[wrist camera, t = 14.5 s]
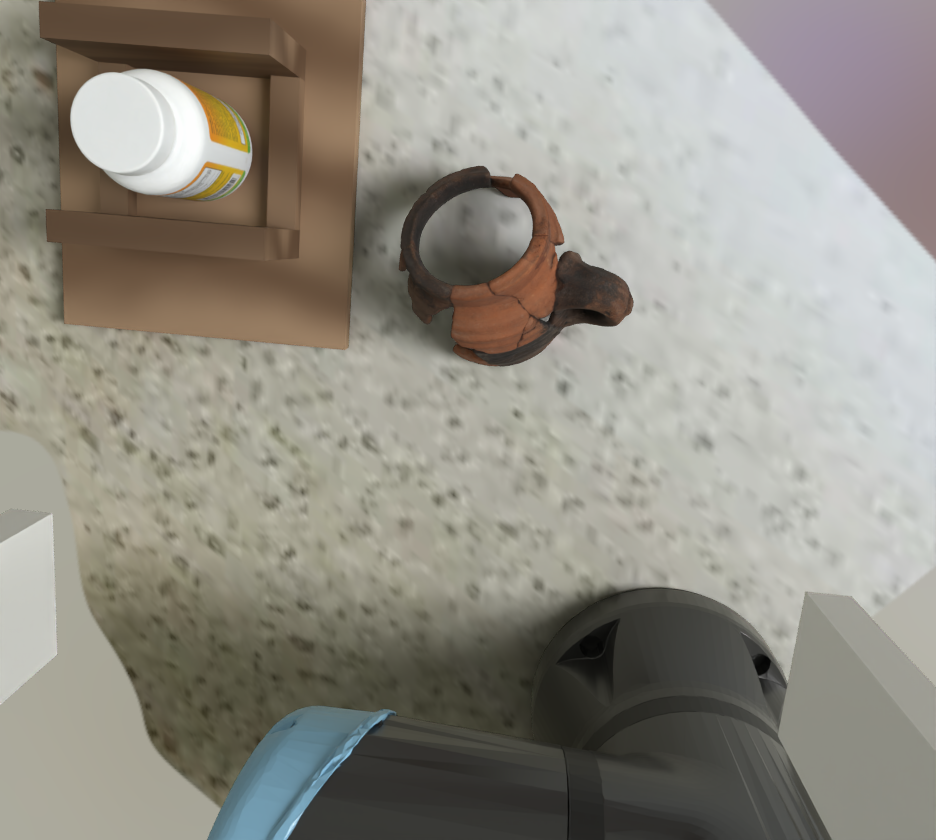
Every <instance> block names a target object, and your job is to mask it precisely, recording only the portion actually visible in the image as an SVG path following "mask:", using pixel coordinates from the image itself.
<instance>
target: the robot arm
mask: <svg viewBox="0 0 936 840" xmlns="http://www.w3.org/2000/svg"><path fill="white" fill-rule="evenodd" d="M53 542H54V540H53V513H46V512H36V511H28V510H18V509H9V510H7V511H5V512H3V513H2V514H0V705H1V704H2V703H3V702H4V701H5V700H7V699H8V698H9V697H10V696H11V695H12V694H13V693H14V692H16V691H17V690H18V689H19V688H20V687H21V686H22V685H23V684H25V683H26V682H27V681H28V680H29V679H30V678H31V677H32V676H34V675H35V674H36V673H37V672H38V671H39V670H40V669H41V668H43V667H44V666H45V665H46V664H47V663H48V662H49V661H50V660H52V659H53V658H54V657H55V656H56V655H57V629H56V628H57V627H56V599H55V571H54V570H55V569H54V543H53ZM531 701H532V729H533V736H534V740H529V739H524V738H518V737H512V736H507V735H501V734H495V733H490V732H484V731H479V730H473V729H467V728H462V727H456V726H451V725H445V724H439V723H434V722H428V721H422V720H417V719H411V718H406V717H400V716H397V713H396V712H395V711H392V710H389V709H381V710H379V711H377V712H368V711H360V710H352V709H343V708H335V707H327V706H309V707H304V708H301V709H298V710H296V711H294V712H292V713H290V714H288V715H286V716H285V717H284V718H283V719H281V720H280V721H279V722H278V723H276V724H275V725H274V726H273V727H272V729H271V730H270V731H269V732H268V733H267V734H266V736H265V737H264V738H263V740H261V742H260V743H259V744H258V745H257V747H256V748H255V749H254V751H253V753H252V754H251V756H250V757H249V759H248V760H247V762H246V764H245V765H244V767H243V768H242V770H241V772H240V773H239V775H238V777H237V779H236V781H235V782H234V784H233V786H232V788H231V790H230V792H229V794H228V796H227V798H226V800H225V802H224V804H223V806H222V808H221V810H220V812H219V814H218V816H217V818H216V821H215V823H214V826H213V828H212V830H211V832H210V834H209V837H208V839H207V840H936V687H935V685H934V684H933V683H932V682H931V681H930V680H929V679H928V678H927V677H926V676H925V675H924V674H923V673H922V672H921V670H920V669H919V668H918V667H917V666H916V665H915V664H914V663H913V662H912V661H911V660H910V659H909V658H908V657H907V655H906V654H905V653H904V652H903V651H902V650H901V649H900V648H899V647H898V646H897V645H896V644H895V643H894V642H893V640H891V638H890V637H889V636H888V635H887V634H886V633H885V632H884V631H883V630H882V629H881V628H880V627H879V626H878V624H876V622H875V621H874V620H873V619H872V618H871V617H870V616H869V615H868V614H867V613H866V611H865V610H864V609H863V608H862V607H861V606H860V605H859V604H858V603H857V602H856V601H855V600H854V599H853V598H852V596H842V595H833V594H823V593H813V592H805V597H804V602H803V607H802V612H801V618H800V623H799V628H798V633H797V639H796V644H795V649H794V654H793V659H792V665H791V670H790V675H789V680H788V683H787V680H786V678H785V675H784V673H783V671H782V669H781V667H780V665H779V663H778V662H777V660H776V658H775V657H774V655H773V653H772V652H771V650H770V648H769V647H768V645H767V644H766V642H765V641H764V639H763V638H762V637H761V635H760V634H759V633H758V632H757V631H756V629H755V628H754V627H753V626H752V625H751V624H750V623H749V622H747V621H746V620H745V619H744V618H743V617H742V616H740V615H739V614H738V613H736V612H735V611H733V610H732V609H730V608H728V607H727V606H725V605H723V604H721V603H719V602H717V601H715V600H713V599H710V598H708V597H705V596H702V595H699V594H695V593H692V592H687V591H682V590H675V589H643V590H635V591H630V592H626V593H622V594H618V595H615V596H612V597H609V598H607V599H604V600H602V601H600V602H598V603H596V604H594V605H592V606H590V607H588V608H587V609H585V610H584V611H582V612H581V613H579V614H578V615H576V616H575V617H574V618H573V619H571V620H570V621H569V622H568V623H567V624H566V625H565V626H564V627H563V628H562V629H561V630H560V631H559V632H558V633H557V634H556V636H555V637H554V638H553V639H552V641H551V642H550V644H549V645H548V647H547V648H546V650H545V652H544V654H543V656H542V658H541V660H540V662H539V665H538V667H537V670H536V673H535V677H534V681H533V687H532V698H531Z"/></svg>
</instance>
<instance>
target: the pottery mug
mask: <svg viewBox="0 0 936 840" xmlns="http://www.w3.org/2000/svg"><path fill="white" fill-rule="evenodd" d="M489 187H495V188H497V189H498V190H499V191H501V192H502V193H503V194H504V195H506V196H508V197H514V198H521V199H522V200H523V201H524V202H525V203H526V205H527V206H528V208H529V210H530V212H531V215H532V220H533V232H532V239H531V241H530V244H529V246H528V248H527V250H526V251H525V253H524V254H523V256H522V257H521V259H520V260H519V261H518V262H517V263H516V264H515V265H514V266H513V267H512V268H511V269H509V270H508V271H507V272H505V273H504V274H502V275H501V276H499V277H497V278H495V279H493V280H491V281H489V282H486V283H481V284H477V285H450V284H447V283H445V282H443V281H440V280H439V279H437V278H435V277H434V276H433V275H431V274H430V273H429V272H428V270H427V269H426V268H425V267H424V265H423V263H422V261H421V258H420V255H419V242H420V237H421V233H422V230H423V228H424V226H425V224H426V223H427V221H428V220H429V218H430V217H431V216H432V215H433V213H434V212H435V211H437V209H438V208H440V207H441V206H442V205H443V204H444V203H446V202H447V201H449V200H450V199H452V198H453V197H455V196H457V195H459V194H461V193H464V192H467V191H470V190H474V189H479V188H489ZM563 243H564V236H563V233H562V230H561V227H560V224H559V223H558V220H557V217H556V214H555V213H554V211H553V209H552V208H551V206H550V205H549V203H548V202H547V201H546V199H545V198H544V196H543V195H542V194H541V193H540V191H539V190H538V189H537V188H536V186H535V185H534V184H533V183H531V182H530V181H529V180H527V179H526V178H525V177H523V176H521V175H519V174H515V176H514V177H513V178H511V177H500V176H490V173H489V171H488V169H487V168H486V167H484V166H476V167H470V168H466V169H463V170H461V171H458V172H455V173H452V174H449V175H447V176H445V177H443V178H442V179H440V180H438V181H437V182H436V183H435V184H433V185H432V186H431V187H430V188H429V189H428V190H427V191H426V193H425V194H423V195H421V196H420V198H419V199H418V200H417V201H416V202H415V203H414V205H413V207H412V209H411V210H410V212H409V214H408V215H407V217H406V219H405V222H404V225H403V229H402V234H401V249H402V250H401V254H400V262H399V270H400V271H405V270H406V269H407V270H408V272H409V273H410V274H409V278H408V292H409V295H410V297H411V299H412V309H413V312H414V313H415V314H416V315H417V316H418V317H419V318H420V319H421V320H422V321H423V322H424V323H426V324H429V323H430V322H431V321H432V315H435V314H437V313H438V312H440V311H441V310H444V309H447V308H450V307H454V312H453V316H452V319H453V321H452V330H451V337H452V338H453V339H454V340H455V341H456V343H458V344H456V345H455V346H454V348H453V351H454V352H455V353H456V354H457V355H459V356H460V357H462V358H464V359H466V360H468V361H473V362H476V363H478V364H483V365H488V366H510V365H514V364H518V363H521V362H524V361H526V360H528V359H530V358H532V357H534V356H536V355H537V354H539V353H540V352H542V351H543V350H544V349H545V348H546V347H547V346H548V345H549V344H550V343H551V341H552V340H553V339H554V338H555V337H556V336H557V335H558V334H559V333H560V331H561V330H562V329H563V328H564V327H566V326H570V325H573V324H580V323H588V324H593V325H599V326H616V325H618V324H619V323H620V322H621V321H622V320H623V319H624V317H626V316H627V315H629V314H630V313H631V311H632V307H633V298H632V296H631V293H630V291H629V287H628V285H627V284H626V282H625V281H624V280H623V279H621V278H620V277H619V276H617V275H615V274H613V273H611V272H609V271H606V270H604V269H602V268H599V267H594V266H590V265H588V264H586V263H585V262H583V261H582V259H581V257H580V255H579V254H578V253H575V252H572V251H567V252H564V253H563V254H562V255H561V256H560V259H559V261H558V259H557V254H556V252H555V246H557V245H562V244H563ZM550 313H551V315H550V318H549V320H548V321H547V322H545V321H542V320H540V319H541V318H544V317H546V316H548V315H549V314H550ZM468 348H471V349H473V350H471V349H468Z"/></svg>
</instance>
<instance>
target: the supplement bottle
mask: <svg viewBox="0 0 936 840" xmlns="http://www.w3.org/2000/svg"><path fill="white" fill-rule="evenodd" d="M70 123H71V129H72V134H73V137H74V139H75V142H76V144H77V146H78V147H79V149H80V150H81V152H82V153H83V154H84V156H85V157H86V158H87V159H88V160H89V161H90V162H92V163H93V164H94V165H96V166H98V167H99V168H101V169H103V170H104V172H105V173H106V174H107V175H108V176H109V177H110V178H112V179H113V180H114V181H115V182H117V183H118V184H120V185H121V186H123V187H125V188H127V189H129V190H132V191H134V192H138V193H142V194H146V195H154V196H163V197H170V198H178V199H186V200H194V201H213V200H218V199H221V198H224V197H226V196H228V195H230V194H231V193H233V192H234V191H235V190H236V189H237V188H238V187H239V186H240V185H241V184H242V183H243V181H244V180H245V178H246V176H247V174H248V172H249V169H250V166H251V162H252V143H251V138H250V135H249V132H248V129H247V127H246V125H245V123H244V121H243V120H242V118H241V117H240V115H239V114H238V113H237V112H236V111H235V110H234V109H233V108H232V107H231V106H229V105H228V104H227V103H225V102H223V101H222V100H220V99H218V98H216V97H214V96H212V95H210V94H208V93H206V92H204V91H202V90H200V89H198V88H196V87H193V86H191V85H189V84H187V83H185V82H183V81H181V80H179V79H177V78H175V77H173V76H171V75H168V74H166V73H163V72H159V71H156V70H151V69H135V70H129V71H125V72H122V73H117V72H109V73H103V74H100V75H97V76H95V77H93V78H91V79H90V80H88V81H87V82H86V83H84V85H83V86H82V87H81V88H80V89H79V90H78V92H77V94H76V96H75V98H74V100H73V103H72V107H71V114H70Z"/></svg>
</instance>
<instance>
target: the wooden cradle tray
mask: <svg viewBox="0 0 936 840" xmlns="http://www.w3.org/2000/svg"><path fill="white" fill-rule="evenodd" d="M365 10H366V0H55V2H44V1H39V19H40V38H43V39H45V40H47V41H50V42H52V43H54V44H56V55H57V89H58V124H59V158H60V192H61V210H52V209H46V230H47V242H57V243H62V261H63V295H64V324H73V325H84V326H95V327H106V328H116V329H127V330H138V331H149V332H159V333H170V334H181V335H192V336H202V337H213V338H224V339H235V340H245V341H256V342H267V343H278V344H288V345H299V346H310V347H321V348H331V349H342V350H345V349H347V348H348V347H349V327H350V307H351V287H352V267H353V248H354V228H355V208H356V188H357V169H358V149H359V129H360V109H361V89H362V70H363V50H364V30H365ZM135 69H151V70H156V71H159V72H163V73H166V74H168V75H171V76H173V77H175V78H177V79H179V80H181V81H183V82H185V83H187V84H189V85H191V86H193V87H196V88H198V89H200V90H202V91H204V92H206V93H208V94H210V95H212V96H214V97H216V98H218V99H220V100H222V101H223V102H225V103H227V104H228V105H229V106H231V107H232V108H233V109H234V110H235V111H236V112H237V113H238V114H239V115H240V117H241V118H242V120H243V121H244V123H245V125H246V127H247V129H248V132H249V135H250V138H251V143H252V162H251V166H250V169H249V172H248V174H247V176H246V178H245V180H244V181H243V183H242V184H241V185H240V186H239V187H238V188H237V189H236V190H235V191H234V192H233V193H231V194H230V195H228V196H226V197H224V198H221V199H218V200H213V201H194V200H186V199H178V198H170V197H163V196H154V195H146V194H142V193H138V192H134V191H132V190H129V189H127V188H125V187H123V186H121V185H120V184H118V183H117V182H115V181H114V180H113V179H112V178H110V177H109V176H108V175H107V174H106V173H105V172H104V170H103V169H101V168H99V167H98V166H96V165H94V164H93V163H92V162H90V161H89V160H88V159H87V158H86V157H85V156H84V154H83V153H82V152H81V150H80V149H79V147H78V146H77V144H76V142H75V139H74V137H73V134H72V129H71V123H70V114H71V107H72V103H73V100H74V98H75V96H76V94H77V92H78V90H79V89H80V88H81V87H82V86H83V85H84V83H86V82H87V81H88V80H90V79H91V78H93V77H95V76H97V75H100V74H103V73H109V72H117V73H122V72H125V71H129V70H135Z"/></svg>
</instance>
